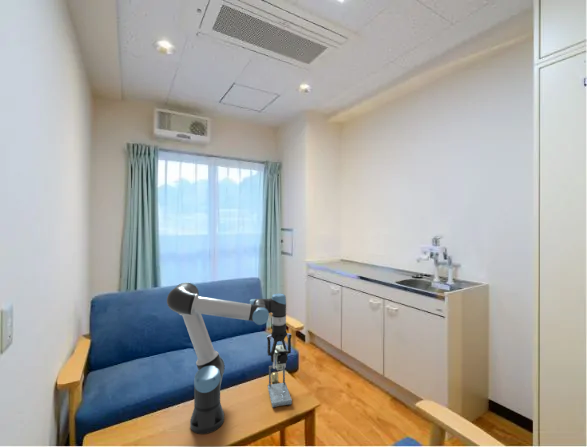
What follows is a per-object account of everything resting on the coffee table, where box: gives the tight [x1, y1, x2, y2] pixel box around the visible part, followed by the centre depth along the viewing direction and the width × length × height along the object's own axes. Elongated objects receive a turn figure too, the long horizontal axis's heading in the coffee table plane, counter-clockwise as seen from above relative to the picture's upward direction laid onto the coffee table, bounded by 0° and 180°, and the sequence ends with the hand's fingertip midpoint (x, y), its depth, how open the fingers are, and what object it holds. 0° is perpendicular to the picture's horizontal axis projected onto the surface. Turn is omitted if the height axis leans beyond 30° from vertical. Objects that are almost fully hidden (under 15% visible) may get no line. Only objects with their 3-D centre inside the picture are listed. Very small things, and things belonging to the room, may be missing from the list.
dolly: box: [267, 364, 293, 409], centre depth 147 cm, size 10×16×14 cm, turn 13°
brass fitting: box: [271, 371, 279, 384], centre depth 161 cm, size 4×4×5 cm
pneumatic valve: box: [274, 343, 289, 371], centre depth 146 cm, size 6×12×12 cm, turn 20°
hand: (279, 366), depth 147 cm, fingers closed on pneumatic valve, 5 cm apart
